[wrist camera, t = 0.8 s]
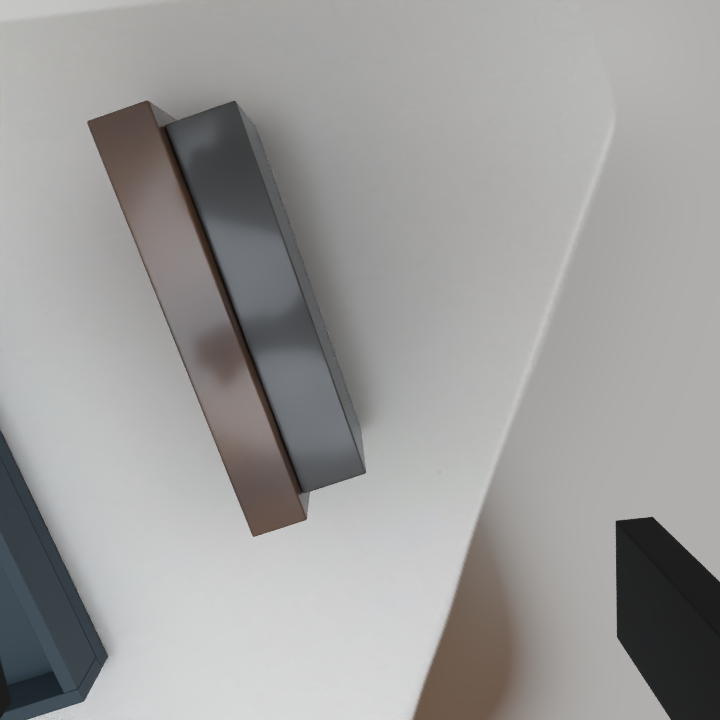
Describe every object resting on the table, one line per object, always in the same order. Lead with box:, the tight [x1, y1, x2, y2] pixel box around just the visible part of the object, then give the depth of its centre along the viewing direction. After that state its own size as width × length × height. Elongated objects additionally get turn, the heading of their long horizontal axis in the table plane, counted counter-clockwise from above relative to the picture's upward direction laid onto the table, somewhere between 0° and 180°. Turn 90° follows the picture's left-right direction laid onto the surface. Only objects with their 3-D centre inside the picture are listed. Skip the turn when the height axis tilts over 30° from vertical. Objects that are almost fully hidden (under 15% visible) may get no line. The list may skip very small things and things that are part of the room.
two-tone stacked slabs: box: [87, 101, 366, 537], centre depth 29 cm, size 18×6×7 cm, turn 18°
